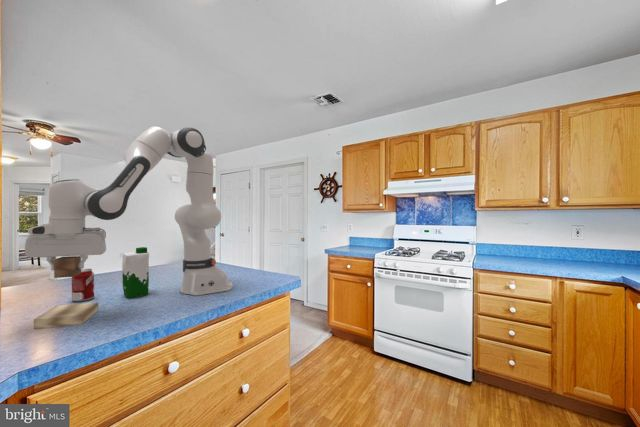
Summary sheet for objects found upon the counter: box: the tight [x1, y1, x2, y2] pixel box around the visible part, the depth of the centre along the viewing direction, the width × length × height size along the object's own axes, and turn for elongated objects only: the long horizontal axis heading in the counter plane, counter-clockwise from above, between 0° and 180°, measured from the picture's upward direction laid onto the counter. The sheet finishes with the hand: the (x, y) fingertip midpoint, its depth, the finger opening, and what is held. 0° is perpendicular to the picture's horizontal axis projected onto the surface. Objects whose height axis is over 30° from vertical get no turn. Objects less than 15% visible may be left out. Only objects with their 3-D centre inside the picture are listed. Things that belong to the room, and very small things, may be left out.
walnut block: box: [53, 256, 82, 279], centre depth 89 cm, size 5×5×6 cm
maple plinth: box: [33, 301, 99, 330], centre depth 90 cm, size 12×12×3 cm
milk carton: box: [121, 246, 150, 300], centre depth 114 cm, size 9×9×20 cm
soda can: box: [71, 268, 95, 303], centre depth 108 cm, size 7×7×12 cm
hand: (68, 269), depth 89 cm, fingers closed on walnut block, 5 cm apart
